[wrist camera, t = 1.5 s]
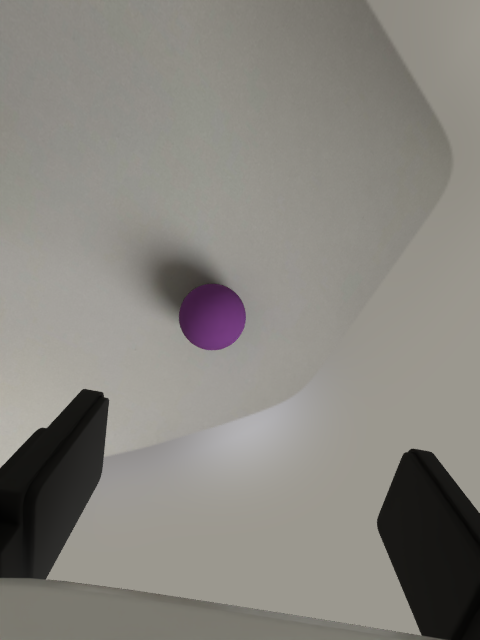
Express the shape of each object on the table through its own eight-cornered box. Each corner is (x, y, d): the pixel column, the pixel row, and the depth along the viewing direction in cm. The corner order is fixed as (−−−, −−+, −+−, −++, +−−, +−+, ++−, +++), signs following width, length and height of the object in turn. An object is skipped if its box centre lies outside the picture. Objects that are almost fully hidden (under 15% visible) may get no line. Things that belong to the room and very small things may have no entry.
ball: (242, 274, 25) (241, 288, 20) (248, 333, 26) (249, 357, 22) (180, 281, 25) (167, 295, 21) (190, 339, 26) (179, 364, 22)
